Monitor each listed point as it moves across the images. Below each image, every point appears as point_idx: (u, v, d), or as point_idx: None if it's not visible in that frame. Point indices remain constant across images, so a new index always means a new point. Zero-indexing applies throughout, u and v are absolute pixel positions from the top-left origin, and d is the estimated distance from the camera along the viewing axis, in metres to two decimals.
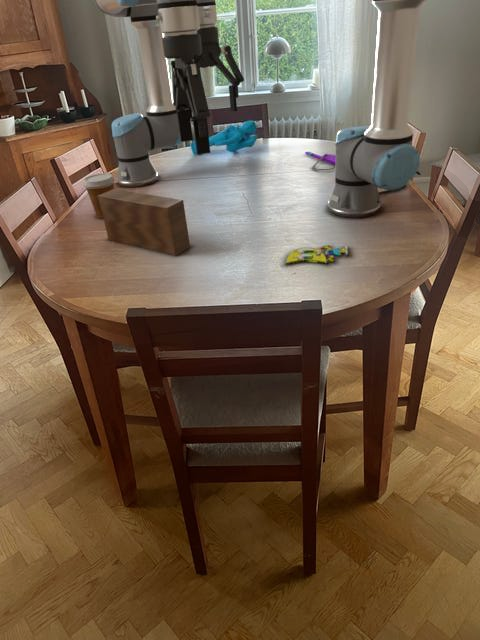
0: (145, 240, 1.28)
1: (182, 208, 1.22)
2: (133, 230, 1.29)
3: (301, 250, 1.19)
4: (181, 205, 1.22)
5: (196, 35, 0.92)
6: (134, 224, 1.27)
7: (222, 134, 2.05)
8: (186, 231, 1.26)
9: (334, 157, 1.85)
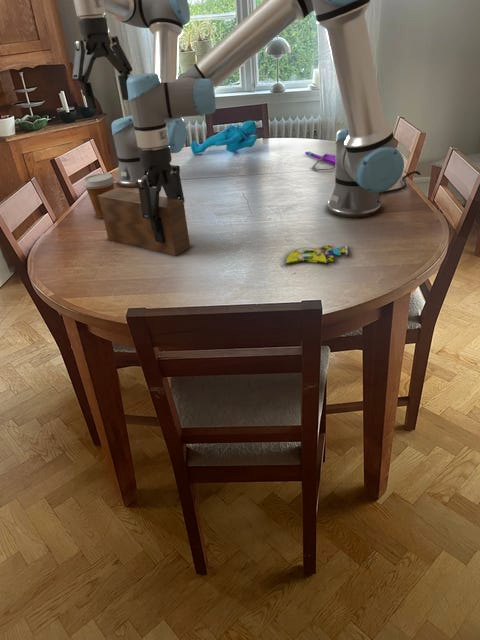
0: (145, 240, 1.28)
1: (182, 208, 1.22)
2: (133, 230, 1.29)
3: (301, 250, 1.19)
4: (182, 205, 1.22)
5: None
6: (134, 224, 1.27)
7: (222, 134, 2.05)
8: (186, 231, 1.26)
9: (334, 157, 1.85)
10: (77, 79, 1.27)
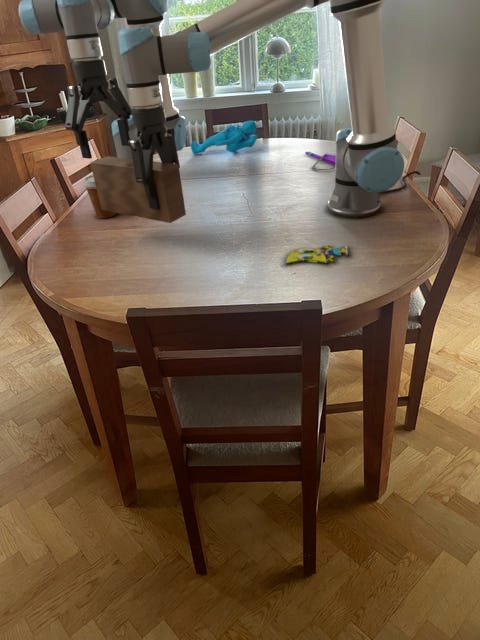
0: (139, 208, 1.24)
1: (177, 173, 1.17)
2: (127, 198, 1.24)
3: (301, 250, 1.19)
4: (177, 169, 1.17)
5: None
6: (128, 190, 1.23)
7: (222, 134, 2.05)
8: (182, 198, 1.21)
9: (334, 157, 1.85)
10: (70, 128, 1.14)
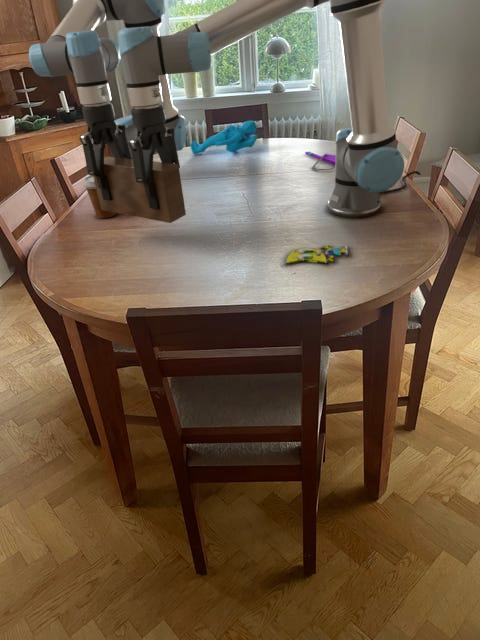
0: (139, 208, 1.24)
1: (177, 173, 1.17)
2: (127, 198, 1.24)
3: (301, 250, 1.19)
4: (177, 169, 1.17)
5: None
6: (128, 191, 1.23)
7: (222, 134, 2.05)
8: (182, 197, 1.21)
9: (334, 157, 1.85)
10: (93, 174, 1.21)
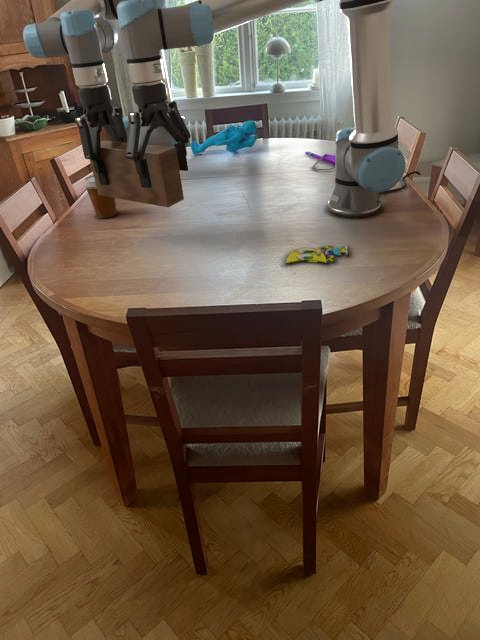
0: (136, 192, 1.22)
1: (175, 156, 1.15)
2: (124, 182, 1.22)
3: (301, 250, 1.19)
4: (174, 153, 1.15)
5: None
6: (125, 175, 1.21)
7: (222, 134, 2.05)
8: (179, 182, 1.19)
9: (334, 157, 1.85)
10: (89, 158, 1.19)
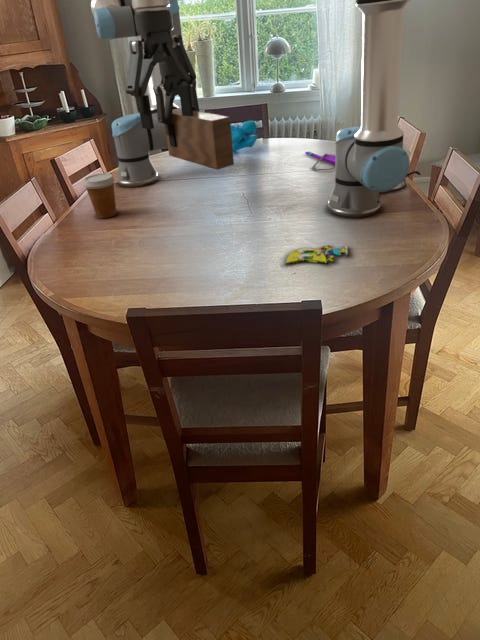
0: (195, 155, 1.40)
1: (228, 124, 1.31)
2: (187, 145, 1.41)
3: (301, 250, 1.19)
4: (228, 121, 1.31)
5: None
6: (188, 138, 1.39)
7: None
8: (231, 148, 1.35)
9: (334, 157, 1.85)
10: (161, 121, 1.40)
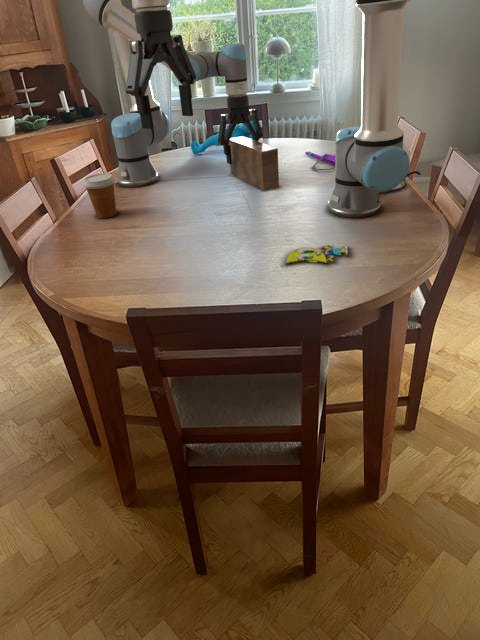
0: (249, 176, 1.69)
1: (276, 155, 1.59)
2: (243, 168, 1.71)
3: (301, 250, 1.19)
4: (275, 152, 1.58)
5: None
6: (244, 163, 1.69)
7: None
8: (277, 174, 1.62)
9: (334, 157, 1.85)
10: (220, 143, 1.70)
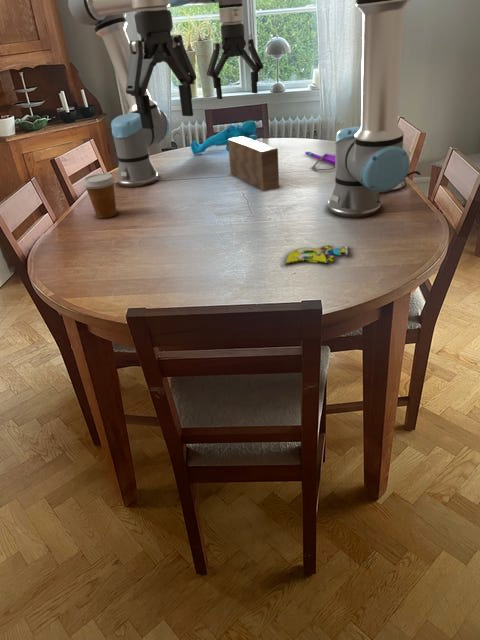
0: (249, 176, 1.69)
1: (276, 155, 1.59)
2: (243, 168, 1.71)
3: (301, 250, 1.19)
4: (275, 152, 1.58)
5: None
6: (244, 163, 1.69)
7: (222, 134, 2.05)
8: (277, 174, 1.62)
9: (334, 157, 1.85)
10: (209, 74, 1.57)
